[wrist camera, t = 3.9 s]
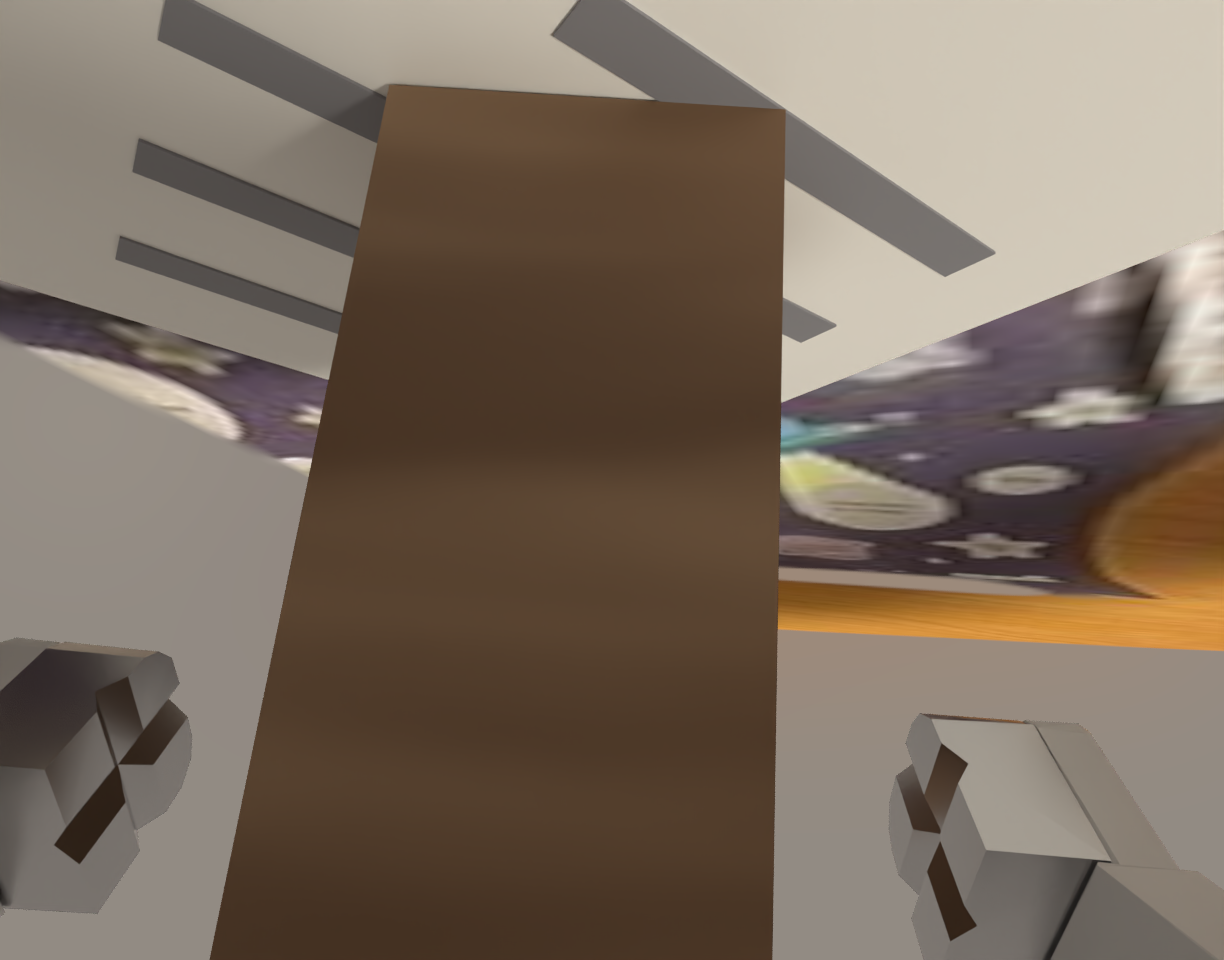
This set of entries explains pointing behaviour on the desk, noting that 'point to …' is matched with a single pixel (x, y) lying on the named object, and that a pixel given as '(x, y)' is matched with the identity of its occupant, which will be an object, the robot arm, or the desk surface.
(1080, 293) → the desk surface
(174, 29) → the letter
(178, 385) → the desk surface
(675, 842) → the walnut block
